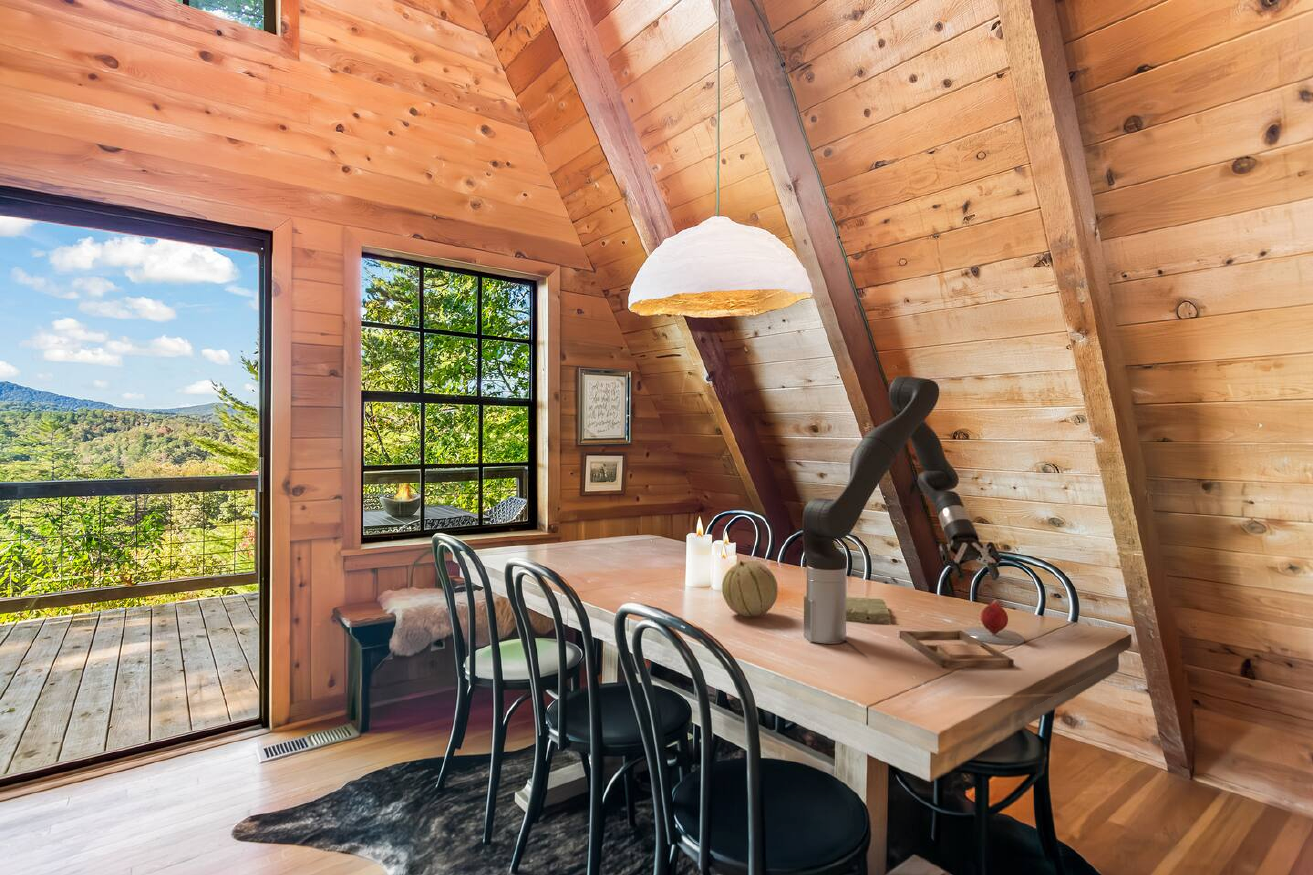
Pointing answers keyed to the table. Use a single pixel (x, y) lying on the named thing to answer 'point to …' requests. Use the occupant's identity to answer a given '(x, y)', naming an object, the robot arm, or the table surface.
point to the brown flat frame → (930, 650)
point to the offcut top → (964, 652)
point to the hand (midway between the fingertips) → (979, 578)
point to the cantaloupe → (749, 588)
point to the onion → (994, 617)
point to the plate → (995, 636)
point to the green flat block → (867, 610)
